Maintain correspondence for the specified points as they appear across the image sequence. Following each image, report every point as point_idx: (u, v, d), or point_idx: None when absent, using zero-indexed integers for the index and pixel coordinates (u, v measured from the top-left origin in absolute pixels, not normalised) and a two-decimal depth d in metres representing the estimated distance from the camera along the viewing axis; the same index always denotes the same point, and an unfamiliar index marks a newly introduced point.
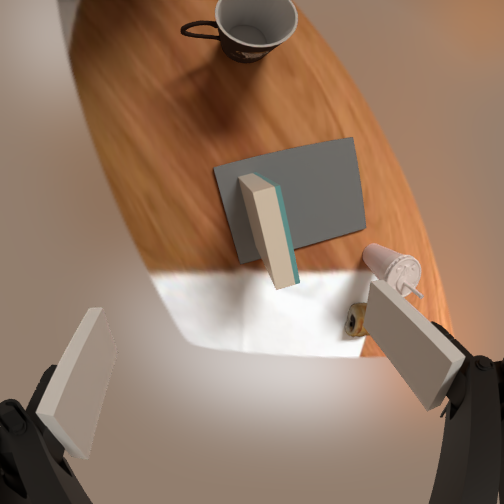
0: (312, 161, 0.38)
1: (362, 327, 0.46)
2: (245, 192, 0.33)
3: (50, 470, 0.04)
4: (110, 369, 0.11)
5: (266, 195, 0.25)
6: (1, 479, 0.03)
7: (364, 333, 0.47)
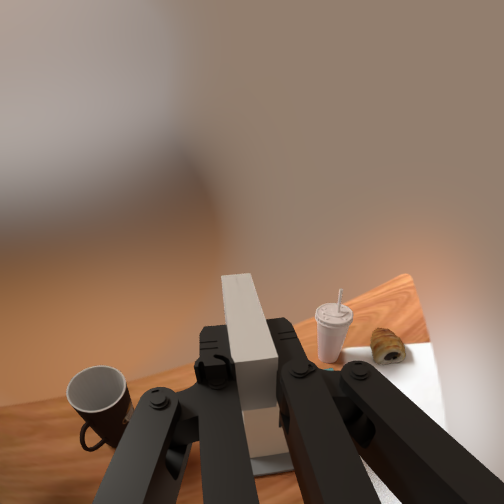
0: None
1: (393, 345, 0.46)
2: (256, 436, 0.28)
3: (241, 433, 0.06)
4: None
5: None
6: (163, 461, 0.06)
7: (398, 342, 0.46)
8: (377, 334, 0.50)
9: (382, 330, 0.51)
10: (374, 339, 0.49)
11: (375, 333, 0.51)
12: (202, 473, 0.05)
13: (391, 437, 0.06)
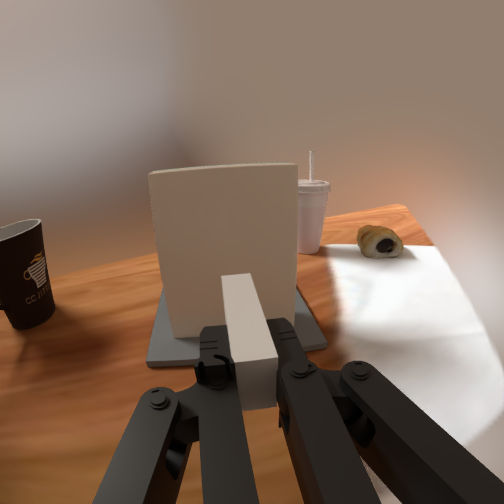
0: None
1: None
2: (178, 276, 0.21)
3: (241, 433, 0.06)
4: None
5: (159, 171, 0.19)
6: (163, 461, 0.06)
7: (392, 231, 0.39)
8: (364, 227, 0.42)
9: None
10: (361, 231, 0.41)
11: (361, 228, 0.43)
12: (202, 473, 0.05)
13: (391, 437, 0.06)
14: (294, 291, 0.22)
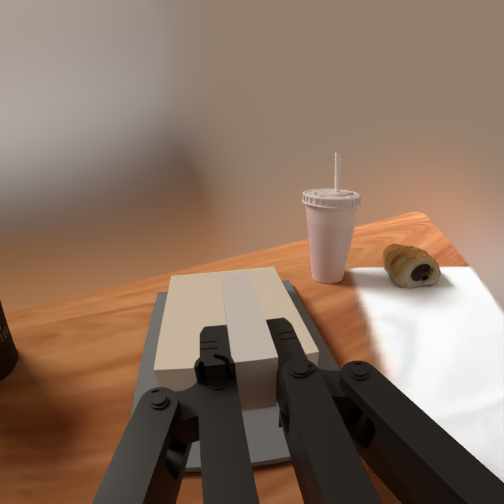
0: None
1: (420, 256, 0.29)
2: (178, 317, 0.21)
3: (241, 433, 0.06)
4: None
5: None
6: (163, 461, 0.06)
7: (426, 254, 0.30)
8: (392, 248, 0.34)
9: (398, 245, 0.35)
10: (390, 253, 0.32)
11: (389, 248, 0.34)
12: (202, 473, 0.05)
13: (391, 437, 0.06)
14: (301, 321, 0.20)
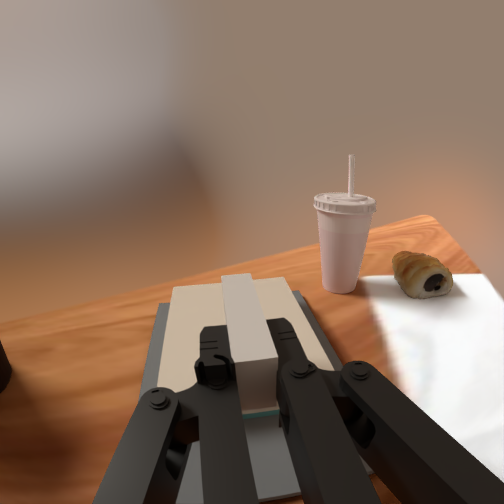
0: None
1: (432, 265, 0.27)
2: (181, 336, 0.19)
3: (241, 433, 0.06)
4: None
5: None
6: (163, 461, 0.06)
7: (439, 262, 0.28)
8: (403, 255, 0.31)
9: None
10: (401, 262, 0.30)
11: (399, 255, 0.32)
12: (202, 473, 0.05)
13: (391, 437, 0.06)
14: (317, 341, 0.18)
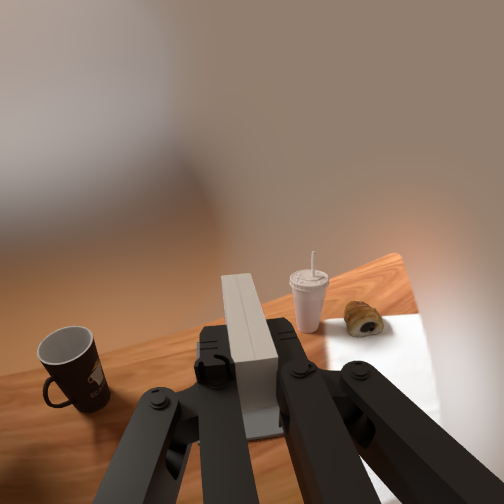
0: None
1: (368, 315, 0.45)
2: None
3: (241, 433, 0.06)
4: None
5: None
6: (163, 461, 0.06)
7: (374, 312, 0.46)
8: (350, 306, 0.49)
9: (356, 302, 0.51)
10: (347, 312, 0.48)
11: (348, 306, 0.50)
12: (202, 473, 0.05)
13: (391, 437, 0.06)
14: None
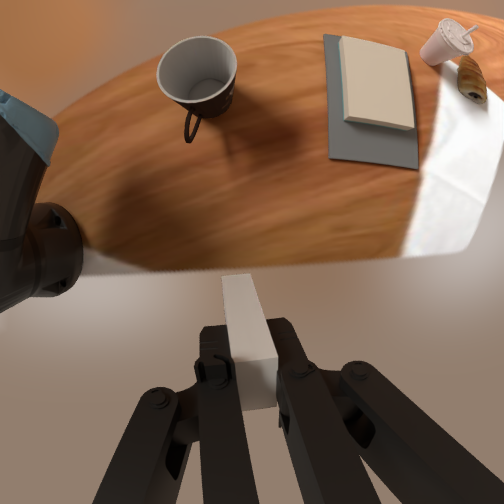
0: None
1: (480, 87, 0.31)
2: (355, 80, 0.32)
3: (241, 433, 0.06)
4: None
5: None
6: (163, 461, 0.06)
7: (484, 87, 0.31)
8: (468, 65, 0.30)
9: (473, 62, 0.30)
10: (465, 69, 0.31)
11: (466, 62, 0.31)
12: (202, 473, 0.05)
13: (391, 437, 0.06)
14: (411, 105, 0.32)
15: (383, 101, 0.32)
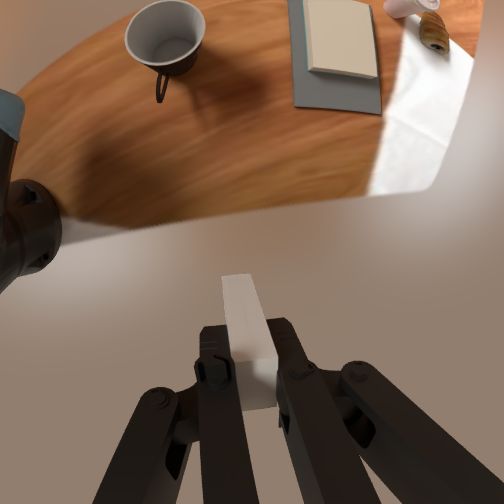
0: None
1: (442, 39, 0.31)
2: (319, 33, 0.30)
3: (241, 433, 0.06)
4: None
5: None
6: (163, 461, 0.06)
7: (447, 39, 0.31)
8: (431, 18, 0.30)
9: (436, 16, 0.30)
10: (428, 22, 0.30)
11: (429, 15, 0.30)
12: (202, 473, 0.05)
13: (391, 437, 0.06)
14: (374, 56, 0.32)
15: (347, 52, 0.31)
